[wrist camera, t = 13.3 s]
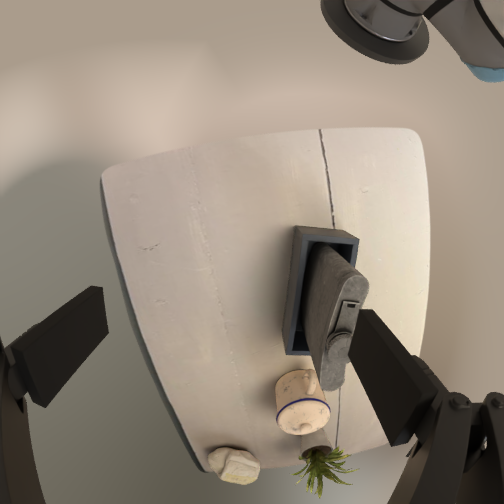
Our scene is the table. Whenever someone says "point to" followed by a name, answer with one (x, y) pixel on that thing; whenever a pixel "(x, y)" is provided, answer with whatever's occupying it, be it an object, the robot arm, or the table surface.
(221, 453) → the fossil replica
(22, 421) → the robot arm
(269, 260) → the table surface
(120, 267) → the table surface
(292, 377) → the teacup with lid
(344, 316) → the flask
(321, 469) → the house plant
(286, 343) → the holder
